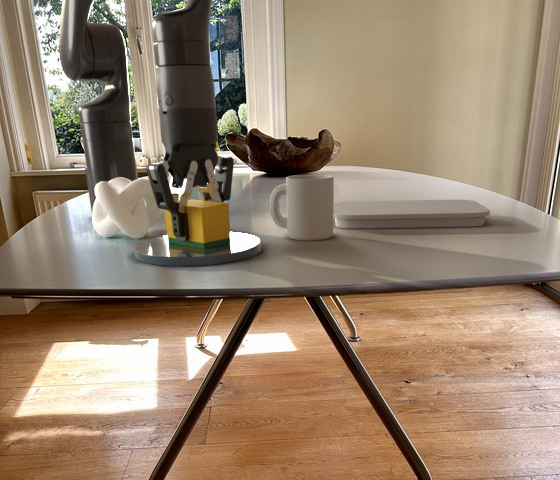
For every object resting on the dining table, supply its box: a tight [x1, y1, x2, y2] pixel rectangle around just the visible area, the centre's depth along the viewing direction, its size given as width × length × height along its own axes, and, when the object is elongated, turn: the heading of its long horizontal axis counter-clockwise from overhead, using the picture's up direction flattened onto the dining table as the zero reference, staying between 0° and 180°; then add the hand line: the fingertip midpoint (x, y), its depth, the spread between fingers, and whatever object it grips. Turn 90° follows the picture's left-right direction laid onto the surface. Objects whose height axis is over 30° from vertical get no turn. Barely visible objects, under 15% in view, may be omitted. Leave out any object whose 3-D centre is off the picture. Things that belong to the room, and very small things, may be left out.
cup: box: [269, 174, 335, 241], centre depth 92 cm, size 7×10×9 cm
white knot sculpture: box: [91, 177, 164, 239], centre depth 96 cm, size 11×12×9 cm
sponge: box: [163, 199, 231, 249], centre depth 84 cm, size 8×5×6 cm, turn 48°
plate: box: [133, 231, 262, 267], centre depth 85 cm, size 18×18×1 cm
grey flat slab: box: [333, 199, 491, 229], centre depth 104 cm, size 16×26×2 cm, turn 86°
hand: (197, 236), depth 85 cm, fingers closed on sponge, 5 cm apart
